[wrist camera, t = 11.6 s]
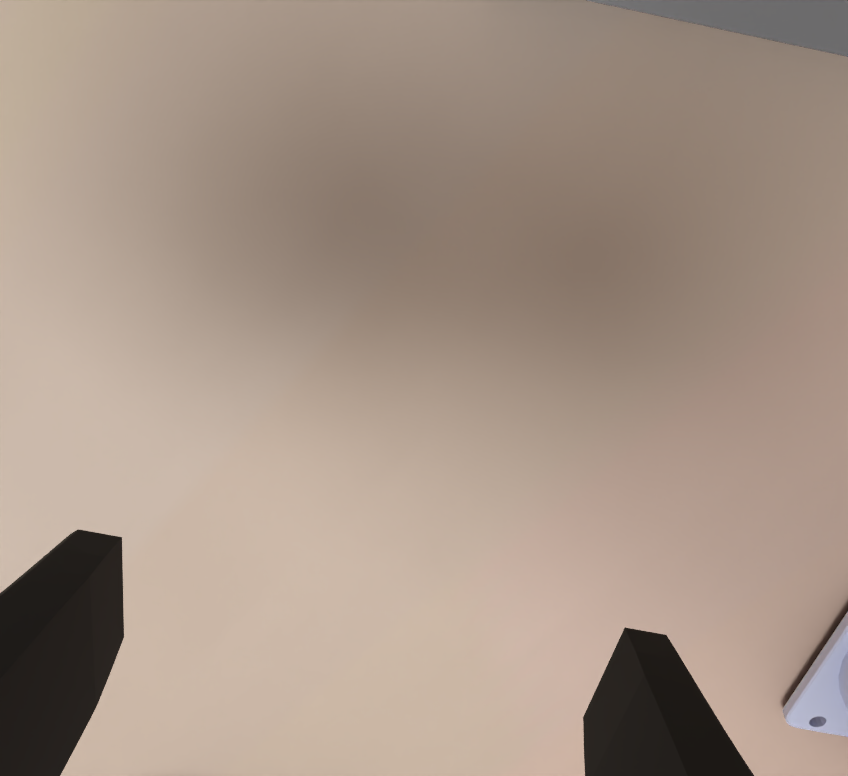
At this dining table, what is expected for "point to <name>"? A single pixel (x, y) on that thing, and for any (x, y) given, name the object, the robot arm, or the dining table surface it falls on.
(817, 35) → the rod stand
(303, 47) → the dining table surface
